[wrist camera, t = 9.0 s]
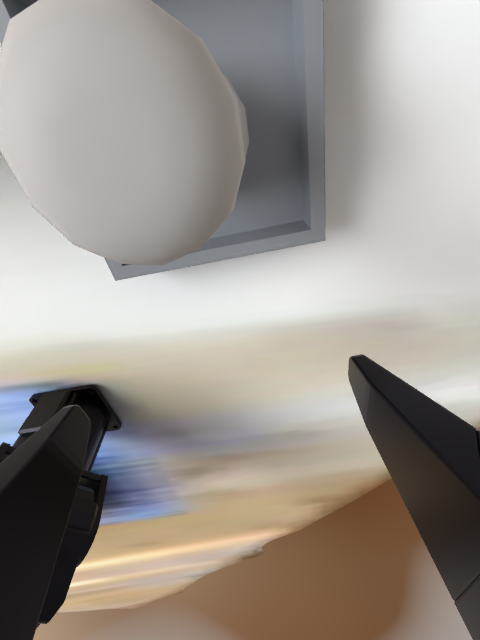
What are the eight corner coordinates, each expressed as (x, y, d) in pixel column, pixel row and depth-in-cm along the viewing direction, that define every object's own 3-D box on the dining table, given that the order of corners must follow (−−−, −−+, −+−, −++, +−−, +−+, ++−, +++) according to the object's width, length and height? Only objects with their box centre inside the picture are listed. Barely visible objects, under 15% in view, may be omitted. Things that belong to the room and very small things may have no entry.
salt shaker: (265, 151, 16) (354, 206, 5) (187, 214, 17) (131, 355, 7) (196, 30, 13) (71, -416, 2) (111, 119, 15) (-190, 106, 4)
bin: (312, 225, 19) (325, 240, 17) (128, 261, 20) (115, 280, 18) (301, -82, 12) (321, -136, 9) (12, -6, 13) (-38, -38, 10)
